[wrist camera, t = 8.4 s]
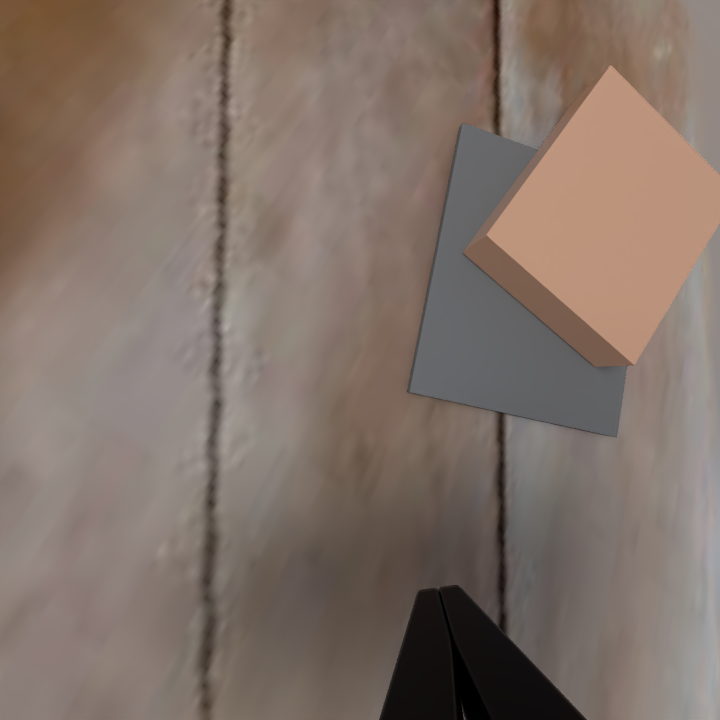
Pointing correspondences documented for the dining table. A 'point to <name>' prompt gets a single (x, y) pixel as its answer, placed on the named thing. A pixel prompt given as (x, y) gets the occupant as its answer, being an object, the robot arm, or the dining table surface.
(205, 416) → the dining table surface
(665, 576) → the dining table surface
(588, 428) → the mat
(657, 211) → the block
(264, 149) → the dining table surface
